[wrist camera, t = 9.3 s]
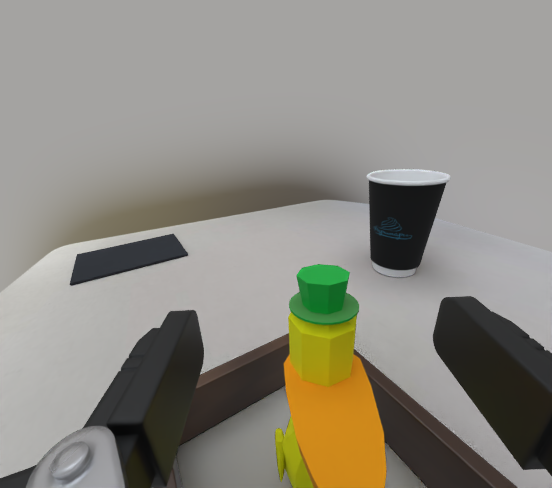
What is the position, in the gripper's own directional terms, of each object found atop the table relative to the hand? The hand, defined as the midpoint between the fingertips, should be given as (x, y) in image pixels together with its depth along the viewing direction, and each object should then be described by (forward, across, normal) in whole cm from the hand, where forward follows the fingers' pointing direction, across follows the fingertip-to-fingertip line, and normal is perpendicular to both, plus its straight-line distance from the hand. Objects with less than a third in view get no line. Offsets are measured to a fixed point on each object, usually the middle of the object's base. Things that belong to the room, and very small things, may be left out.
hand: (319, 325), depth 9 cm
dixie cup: (+21, +13, -10) cm, 27 cm away
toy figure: (-1, 0, -10) cm, 10 cm away
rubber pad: (+28, -23, -10) cm, 38 cm away
